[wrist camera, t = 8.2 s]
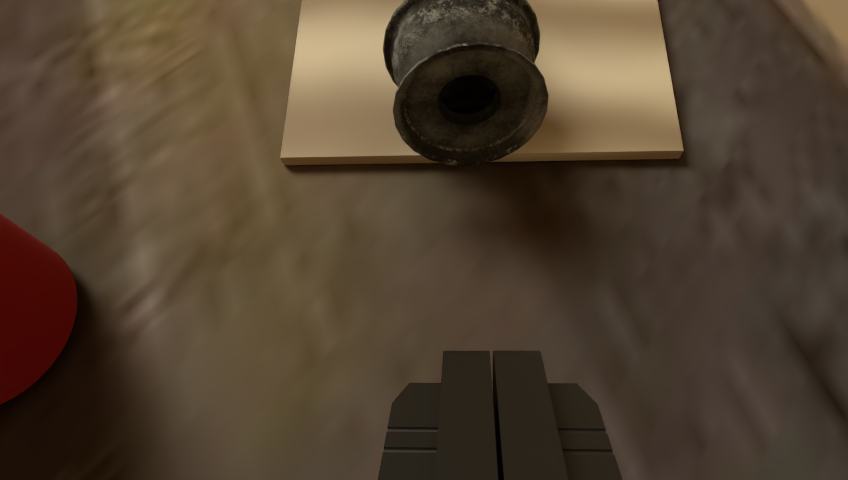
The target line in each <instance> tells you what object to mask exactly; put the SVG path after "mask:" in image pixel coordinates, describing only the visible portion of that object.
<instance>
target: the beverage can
mask: <svg viewBox="0 0 848 480" xmlns="http://www.w3.org/2000/svg"><path fill="white" fill-rule="evenodd" d="M76 311H77V289H76V284H75V280H74V277H73V274H72V272H71V270H70V268H69V267H68V265H67V264H66V262H65V261H64V260H63V259H62V257H61V256H60V255H59V254H57V253H56V252H55V251H54V250H52V249H51V248H49V247H48V246H47V245H45V244H44V243H42V242H41V241H39V240H38V239H36V238H35V237H33V236H32V235H31V234H29V233H28V232H26V231H25V230H23V229H22V228H20V227H19V226H18V225H16V224H15V223H13V222H12V221H10V220H9V219H7V218H6V217H4V216H3V215H1V214H0V404H2V403H4V402H6V401H8V400H10V399H12V398H14V397H16V396H17V395H19V394H20V393H22V392H23V391H25V390H26V389H27V388H29V387H30V386H31V385H33V384H34V383H35V382H36V381H37V380H38V379H39V378H40V377H41V376H42V375H43V374H44V373H45V372H46V371H47V370H48V369H49V368H50V367H51V365H52V364H53V363H54V362H55V360H56V359H57V357H58V356H59V354H60V353H61V351H62V350H63V348H64V346H65V344H66V342H67V340H68V338H69V336H70V333H71V331H72V328H73V325H74V321H75V317H76Z"/></svg>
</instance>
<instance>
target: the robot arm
mask: <svg viewBox="0 0 848 480" xmlns="http://www.w3.org/2000/svg"><path fill="white" fill-rule="evenodd" d="M378 480H622V477H621V474H620V471H619V468H618V465H617V462H616V459H615V456H614V455H613V453H612V447H611V444H610V441H609V438H608V435H607V434H606V431H605V426H604V423H603V420H602V417H601V414H600V411H599V407H598V404H597V403H596V402H595V401H594V400H593V399H592V398H591V397H590V396H589V395H588V394H587V393H586V392H585V391H584V390H583V389H582V388H581V387H580V386H579V385H577V384H566V383H547V378H546V374H545V369H544V364H543V360H542V355H541V352H540V351H493V395H492V380H491V365H490V352H489V351H443V363H442V378H441V383H409V384H408V385H407V386H406V387H405V389H404V390H403V391H402V392H401V393H400V394H399V396H398V397H397V398H396V399H395V400H394V401H393V403H392V407H391V412H390V417H389V423H388V432H387V433H386V439H385V444H384V452H383V455H382V460H381V466H380V471H379V476H378Z"/></svg>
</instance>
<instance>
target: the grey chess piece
mask: <svg viewBox="0 0 848 480" xmlns="http://www.w3.org/2000/svg"><path fill="white" fill-rule="evenodd" d="M539 45H540V30H539V25H538V21H537V17H536V14H535V12H534V11H533V9H532V7H531V6H530V4H529V3H528V1H527V0H404V1H403V2H402V3H401V4H400V6H399V7H398V8H397V9H396V10H395V11H394V13H393V15H392V17H391V19H390V21H389V23H388V25H387V27H386V30H385V36H384V43H383V54H384V60H385V67H386V69H387V71H388V73H389V75H390V77H391V79H392V81H393V82H394V83H395V84H396V85H397V87H398V89H397V91H396V93H395V99H394V104H393V115H394V121H395V127H396V129H397V130H398V132H399V134H400V136H401V138H402V140H403V141H404V142H405V143H406V144H407V145H408V146H409V147H410V148H411V149H412V150H413V151H414V152H416V153H418V154H420V155H421V156H423V157H425V158H427V159H429V160H432V161H435V162H439V163H442V164H445V165H456V166H469V165H480V164H484V163H488V162H491V161H495V160H498V159H501V158H503V157H505V156H507V155H509V154H511V153H513V152H515V151H516V150H518V149H519V148H520V147H522V146H523V145H524V144H525V143H527V142H528V141H529V140H530V139H531V138H532V137H533V135H534V134H535V133H536V132H537V130H538V129H539V128H540V127H541V124H542V122H543V120H544V117H545V115H546V113H547V107H548V96H549V95H548V91H547V87H546V83H545V79H544V77H543V75H542V74H541V72H540V71H539V69H538V68H537V66H536V65H535V60H536V58H537V55H538V52H539Z"/></svg>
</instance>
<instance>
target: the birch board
mask: <svg viewBox="0 0 848 480" xmlns="http://www.w3.org/2000/svg"><path fill="white" fill-rule="evenodd" d="M403 1H404V0H302V5H301V12H300V19H299V26H298V34H297V41H296V48H295V55H294V62H293V70H292V77H291V84H290V91H289V99H288V106H287V113H286V120H285V127H284V135H283V142H282V149H281V156H280V158H281V160H282V162H283V164H284V165H332V164H393V163H439V162H435V161H432V160H429V159H427V158H425V157H423V156H421V155H420V154H418V153H416V152H414V151H413V150H412V149H411V148H410V147H409V146H408V145H407V144H406V143H405V142H404V141H403V140H402V138H401V136H400V134H399V132H398V130H397V129H396V127H395V121H394V115H393V104H394V99H395V93H396V91H397V89H398V87H397V85H396V84H395V83H394V82H393V81H392V79H391V77H390V75H389V73H388V71H387V69H386V67H385V60H384V54H383V43H384V36H385V30H386V27H387V25H388V23H389V21H390V19H391V17H392V15H393V13H394V11H395V10H396V9H397V8H398V7H399V6H400V4H401V3H402V2H403ZM527 1H528V3H529V4H530V6H531V7H532V9H533V11H534V12H535V14H536V17H537V21H538V25H539V30H540V45H539V52H538V55H537V58H536V60H535V65H536V66H537V68H538V69H539V71H540V72H541V74H542V75H543V77H544V79H545V83H546V87H547V91H548V95H549V96H548V107H547V113H546V115H545V117H544V120H543V122H542V124H541V127H540V128H539V129H538V130H537V132H536V133H535V134H534V135H533V137H532V138H531V139H530V140H529V141H528V142H527V143H525V144H524V145H523V146H522V147H520V148H519V149H518V150H516V151H515V152H513V153H511V154H509V155H507V156H505V157H503V158H501V159H498V160H495V161H491V162H513V161H574V160H634V159H679V158H680V156H681V154H682V153H683V151H684V150H683V144H682V138H681V133H680V127H679V121H678V116H677V110H676V104H675V98H674V93H673V87H672V81H671V75H670V70H669V64H668V58H667V52H666V47H665V41H664V35H663V30H662V24H661V18H660V12H659V7H658V1H657V0H527Z"/></svg>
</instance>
